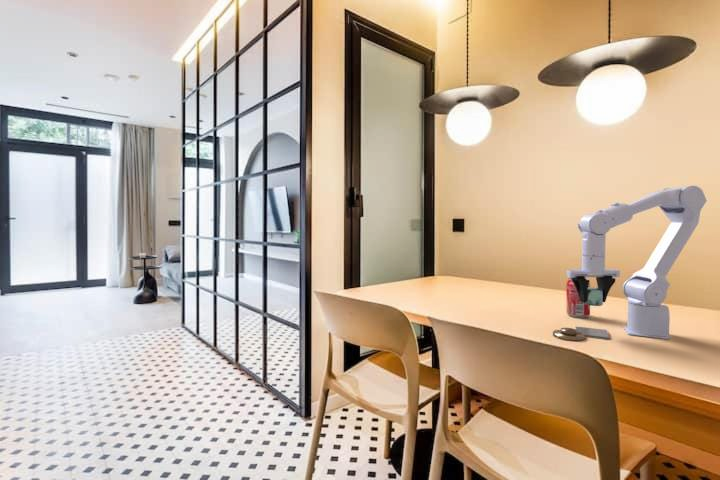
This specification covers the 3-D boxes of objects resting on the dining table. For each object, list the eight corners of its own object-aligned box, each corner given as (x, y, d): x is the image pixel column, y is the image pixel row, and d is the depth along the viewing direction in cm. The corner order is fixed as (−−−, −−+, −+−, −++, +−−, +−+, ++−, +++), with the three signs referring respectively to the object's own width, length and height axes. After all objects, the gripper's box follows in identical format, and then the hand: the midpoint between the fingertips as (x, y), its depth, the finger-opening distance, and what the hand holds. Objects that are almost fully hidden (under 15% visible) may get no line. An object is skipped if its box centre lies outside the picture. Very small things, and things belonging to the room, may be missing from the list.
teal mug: (608, 306, 104) (608, 290, 104) (590, 306, 104) (591, 290, 104) (594, 301, 111) (594, 286, 110) (577, 301, 111) (577, 286, 110)
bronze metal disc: (584, 334, 107) (584, 327, 107) (585, 342, 100) (585, 335, 100) (553, 330, 111) (553, 324, 111) (552, 338, 104) (552, 331, 104)
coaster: (606, 331, 109) (606, 329, 109) (609, 339, 102) (609, 337, 102) (575, 328, 113) (575, 326, 113) (576, 335, 106) (576, 333, 106)
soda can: (593, 319, 123) (594, 280, 123) (570, 318, 125) (570, 280, 124) (585, 313, 130) (585, 277, 130) (563, 312, 132) (563, 277, 131)
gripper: (608, 253, 111) (607, 298, 111) (560, 254, 111) (560, 299, 111) (625, 256, 104) (624, 303, 104) (574, 256, 103) (574, 304, 104)
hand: (592, 301), depth 107 cm, fingers closed on teal mug, 5 cm apart
